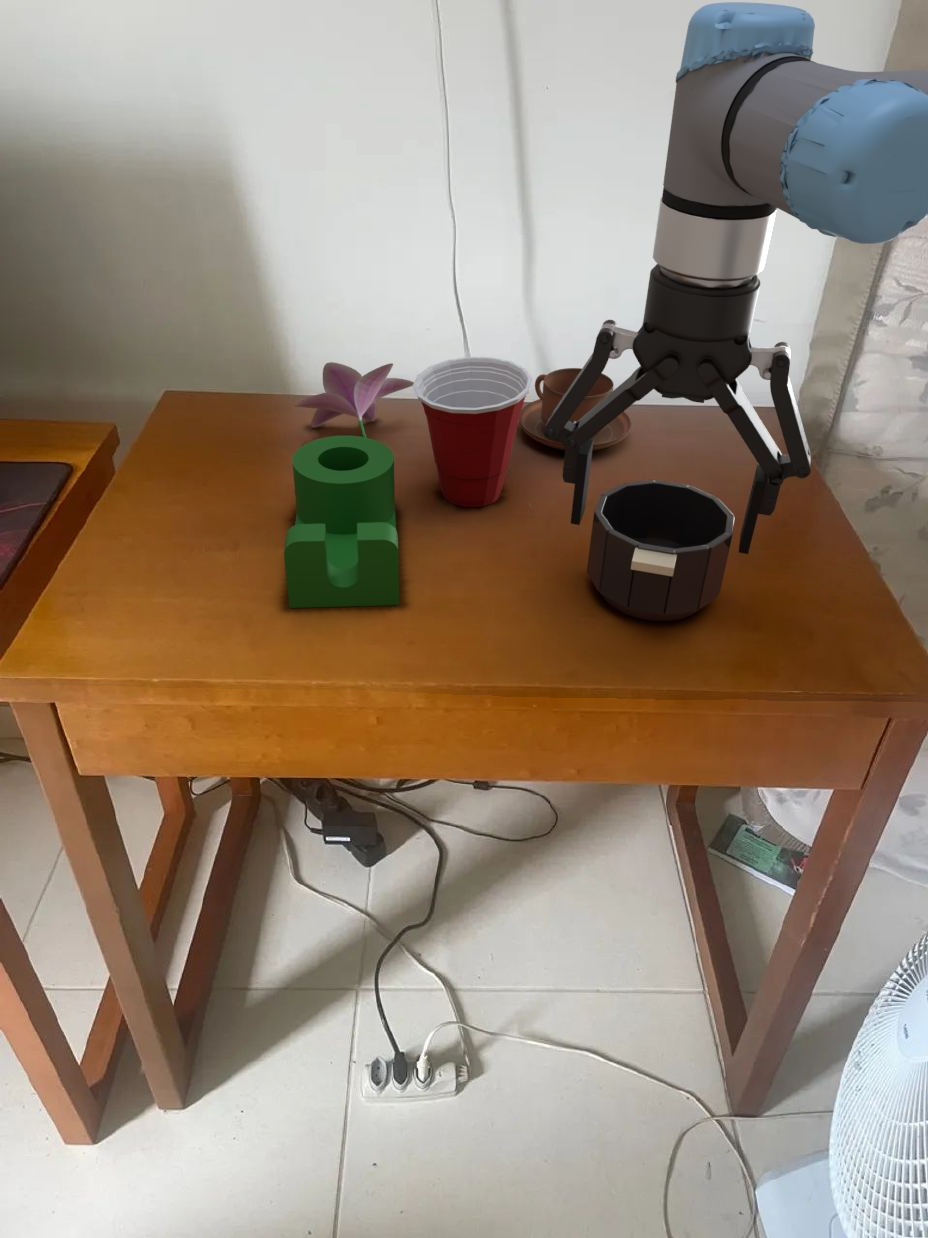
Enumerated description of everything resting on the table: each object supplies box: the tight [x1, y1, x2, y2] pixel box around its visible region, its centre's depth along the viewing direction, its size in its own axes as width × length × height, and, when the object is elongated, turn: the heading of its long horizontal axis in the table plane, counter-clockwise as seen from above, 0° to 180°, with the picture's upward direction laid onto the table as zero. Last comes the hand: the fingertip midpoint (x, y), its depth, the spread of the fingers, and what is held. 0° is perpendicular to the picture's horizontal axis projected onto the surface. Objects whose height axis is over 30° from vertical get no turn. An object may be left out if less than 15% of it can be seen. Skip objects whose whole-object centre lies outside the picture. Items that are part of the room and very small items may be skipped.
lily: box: [293, 361, 415, 438], centre depth 102 cm, size 12×12×10 cm
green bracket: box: [283, 435, 400, 609], centre depth 86 cm, size 18×9×6 cm, turn 5°
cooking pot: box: [586, 479, 736, 615], centre depth 80 cm, size 13×11×6 cm
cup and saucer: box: [518, 367, 632, 452], centre depth 104 cm, size 12×12×6 cm
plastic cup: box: [412, 356, 533, 508], centre depth 92 cm, size 11×11×12 cm
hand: (659, 530), depth 80 cm, fingers open, 13 cm apart
